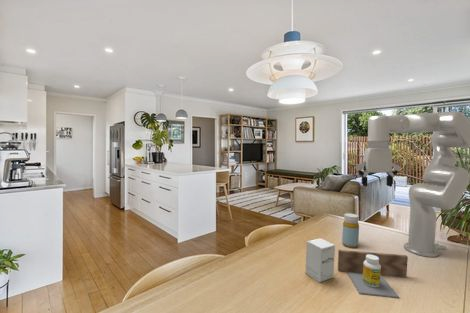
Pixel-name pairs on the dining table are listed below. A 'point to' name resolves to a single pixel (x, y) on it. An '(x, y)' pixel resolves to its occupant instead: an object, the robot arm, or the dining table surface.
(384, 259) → the screen
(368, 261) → the supplement bottle
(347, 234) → the bottle
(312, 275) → the supplement box
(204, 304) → the dining table surface
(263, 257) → the dining table surface
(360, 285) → the mat
